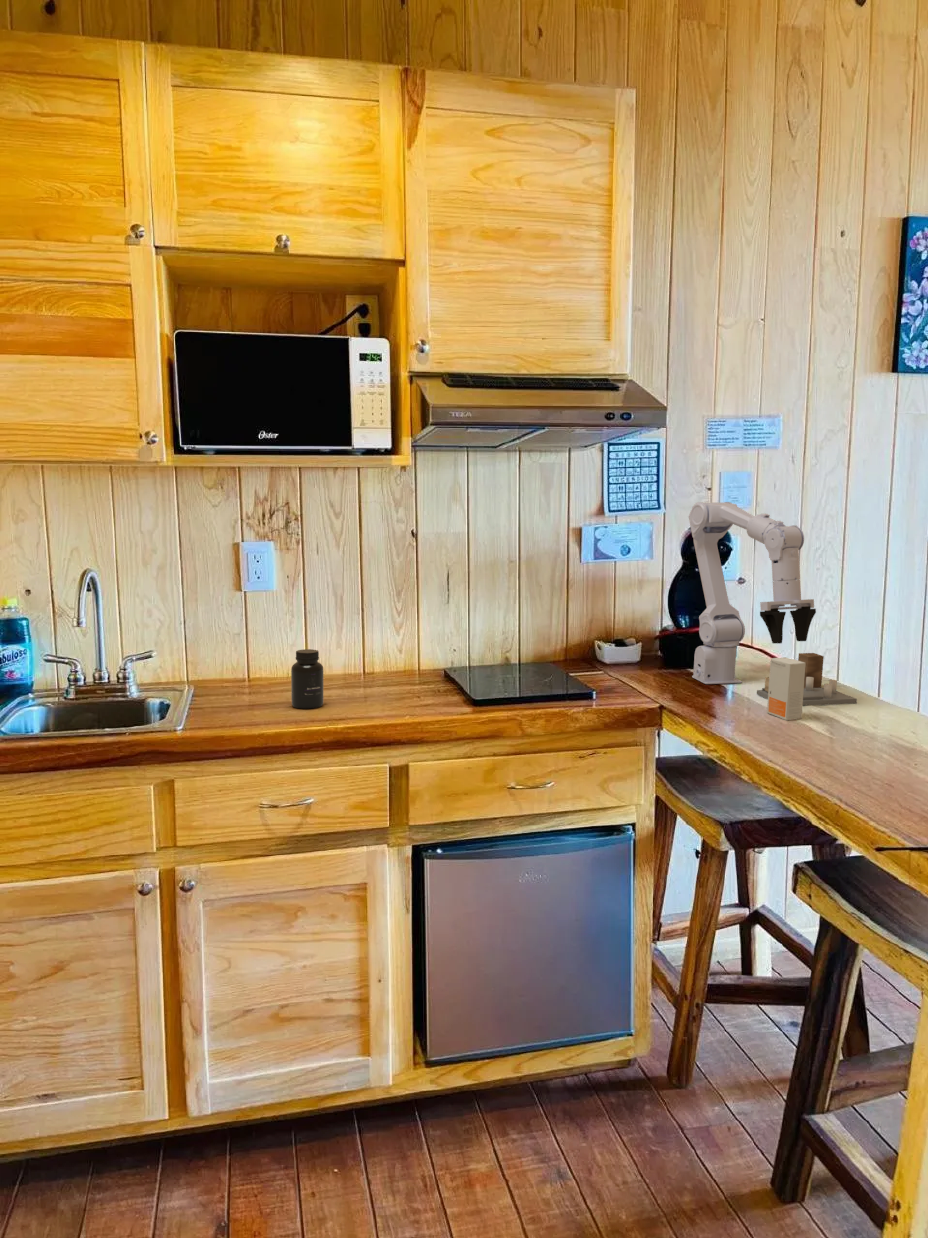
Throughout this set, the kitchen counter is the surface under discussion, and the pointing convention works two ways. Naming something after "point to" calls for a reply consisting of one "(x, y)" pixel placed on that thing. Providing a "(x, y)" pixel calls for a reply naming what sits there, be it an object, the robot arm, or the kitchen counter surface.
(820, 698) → the dock
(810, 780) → the kitchen counter surface
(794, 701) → the skincare box
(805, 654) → the walnut block
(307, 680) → the supplement bottle
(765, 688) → the jaw plate
